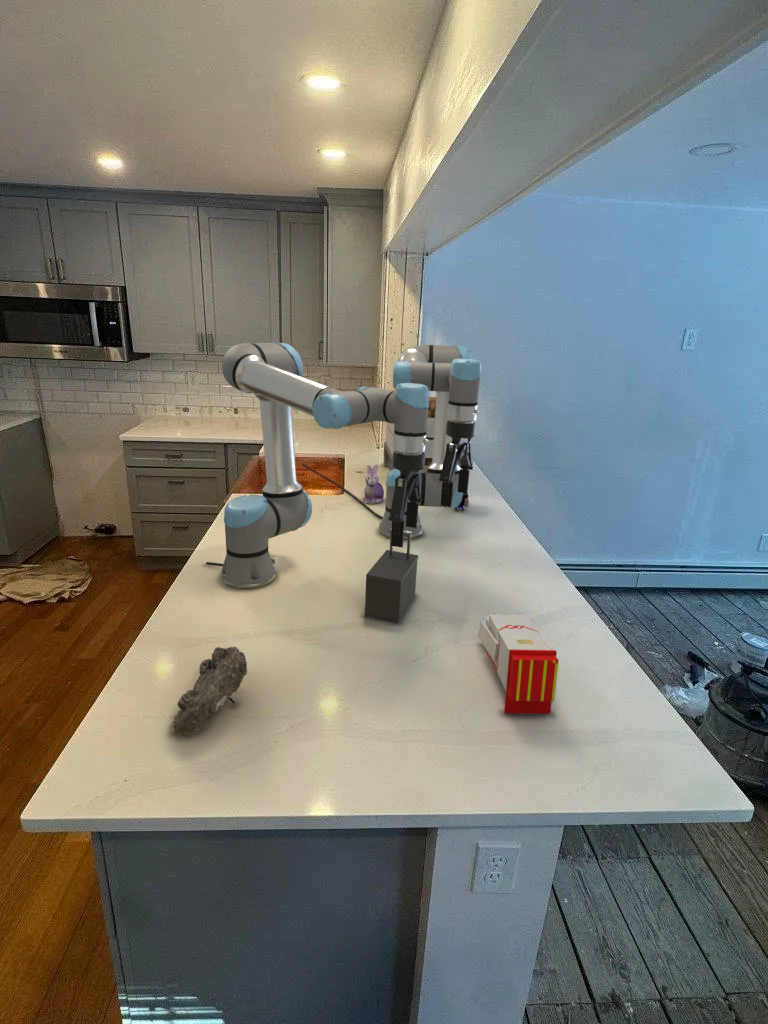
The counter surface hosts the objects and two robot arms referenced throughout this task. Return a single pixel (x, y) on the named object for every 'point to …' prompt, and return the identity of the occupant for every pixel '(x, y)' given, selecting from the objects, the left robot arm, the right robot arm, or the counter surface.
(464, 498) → the figurine character
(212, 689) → the fossil
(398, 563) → the lid
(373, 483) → the figurine
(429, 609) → the counter surface
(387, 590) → the chest
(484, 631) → the toy
